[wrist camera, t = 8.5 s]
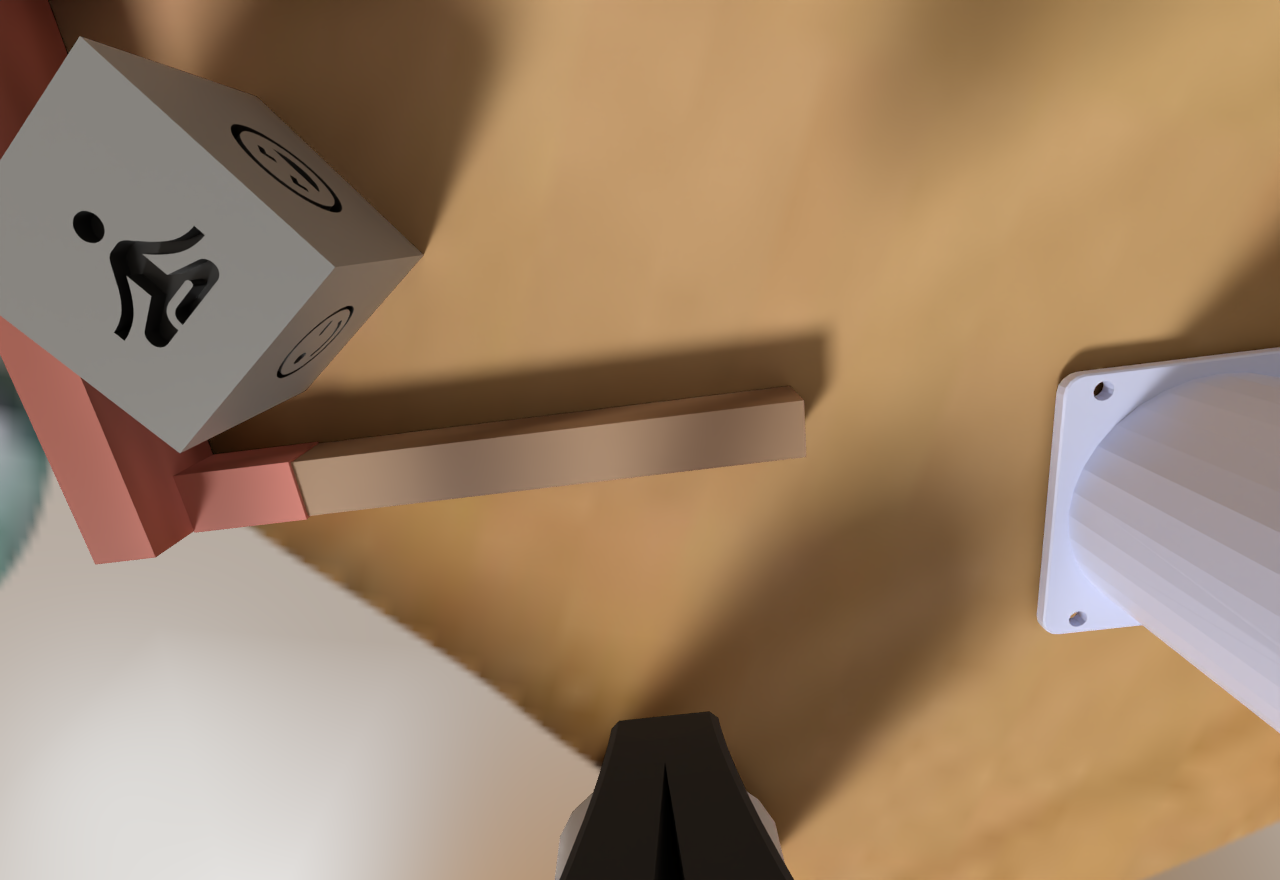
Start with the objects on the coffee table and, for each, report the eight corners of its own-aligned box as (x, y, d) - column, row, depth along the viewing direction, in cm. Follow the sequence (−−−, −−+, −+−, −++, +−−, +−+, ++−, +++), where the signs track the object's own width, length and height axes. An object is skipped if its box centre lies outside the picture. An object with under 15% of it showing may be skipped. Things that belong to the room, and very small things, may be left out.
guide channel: (759, -204, 13) (795, -324, 10) (792, 440, 18) (822, 481, 15) (-52, -79, 14) (-233, -159, 11) (180, 512, 18) (96, 566, 15)
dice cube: (306, 390, 17) (180, 453, 12) (142, 252, 16) (-66, 264, 11) (424, 255, 16) (335, 267, 11) (257, 96, 15) (80, 35, 10)
